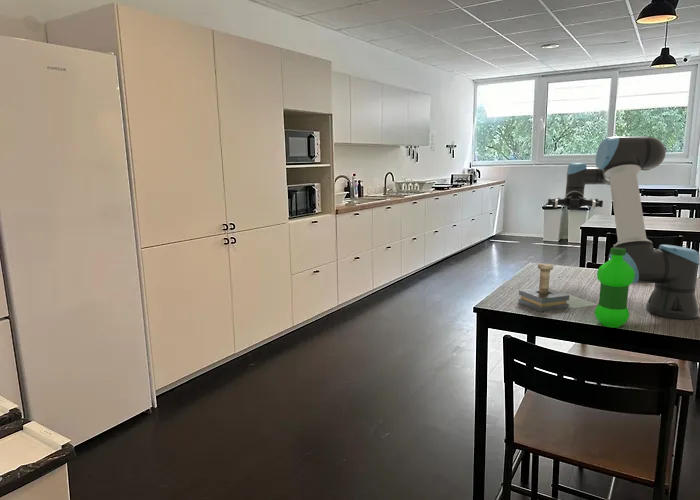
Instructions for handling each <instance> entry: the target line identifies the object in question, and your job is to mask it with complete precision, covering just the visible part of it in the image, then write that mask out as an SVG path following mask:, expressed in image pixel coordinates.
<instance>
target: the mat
mask: <svg viewBox="0 0 700 500" xmlns="http://www.w3.org/2000/svg"><path fill="white" fill-rule="evenodd" d="M568 295H569V300H567V303H568V304H569V307H568V308H571V309H577V308H584V307H591V306H598V305H599V303H596V302H592V301H589V300H586V299H583V298H580V297H578V296H574V295H571V294H568Z"/></svg>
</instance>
